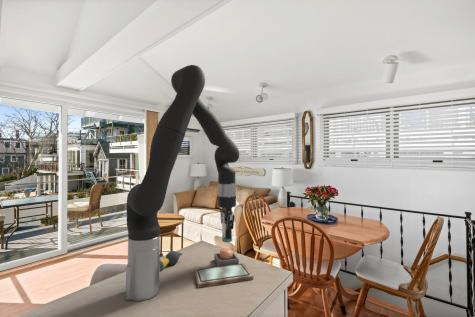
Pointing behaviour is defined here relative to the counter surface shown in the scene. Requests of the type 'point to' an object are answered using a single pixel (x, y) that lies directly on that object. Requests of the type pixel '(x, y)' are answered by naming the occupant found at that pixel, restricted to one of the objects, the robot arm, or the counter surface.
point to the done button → (226, 254)
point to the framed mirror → (222, 275)
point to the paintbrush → (170, 259)
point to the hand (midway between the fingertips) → (226, 236)
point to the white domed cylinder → (224, 233)
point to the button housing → (225, 262)
